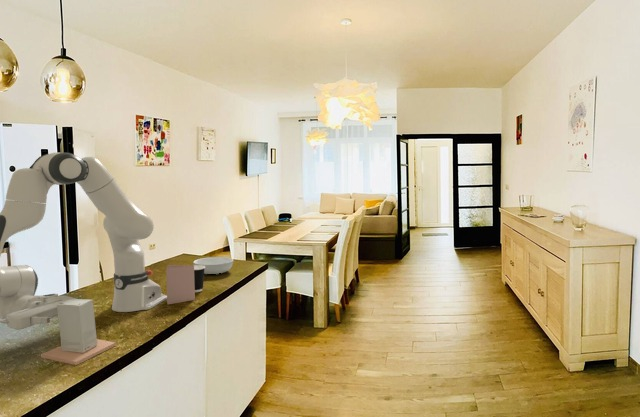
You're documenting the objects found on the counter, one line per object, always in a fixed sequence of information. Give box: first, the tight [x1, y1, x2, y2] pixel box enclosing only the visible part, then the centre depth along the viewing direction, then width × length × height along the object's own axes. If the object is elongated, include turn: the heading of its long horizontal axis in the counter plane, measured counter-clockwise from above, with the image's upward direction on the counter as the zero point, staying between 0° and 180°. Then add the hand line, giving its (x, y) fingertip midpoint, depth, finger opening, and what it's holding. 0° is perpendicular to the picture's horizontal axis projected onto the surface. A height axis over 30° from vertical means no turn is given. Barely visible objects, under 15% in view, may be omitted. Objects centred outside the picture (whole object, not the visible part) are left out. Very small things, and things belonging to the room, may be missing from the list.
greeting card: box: [165, 264, 196, 305], centre depth 174 cm, size 11×7×15 cm, turn 89°
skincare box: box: [57, 298, 98, 353], centre depth 126 cm, size 8×6×15 cm
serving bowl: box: [192, 256, 234, 275], centre depth 223 cm, size 21×21×7 cm
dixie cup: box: [194, 265, 205, 293], centre depth 190 cm, size 8×8×11 cm
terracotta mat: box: [40, 338, 117, 366], centre depth 127 cm, size 14×14×1 cm
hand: (62, 315), depth 128 cm, fingers open, 8 cm apart
